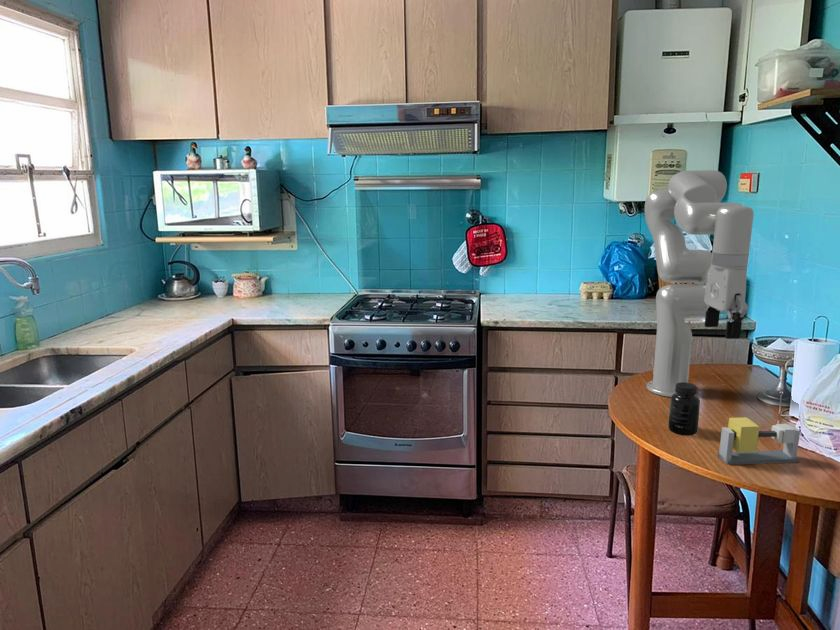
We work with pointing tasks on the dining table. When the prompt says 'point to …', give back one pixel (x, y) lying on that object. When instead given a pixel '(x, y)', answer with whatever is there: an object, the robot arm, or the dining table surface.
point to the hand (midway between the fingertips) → (721, 332)
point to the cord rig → (778, 433)
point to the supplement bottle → (684, 410)
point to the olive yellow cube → (744, 434)
